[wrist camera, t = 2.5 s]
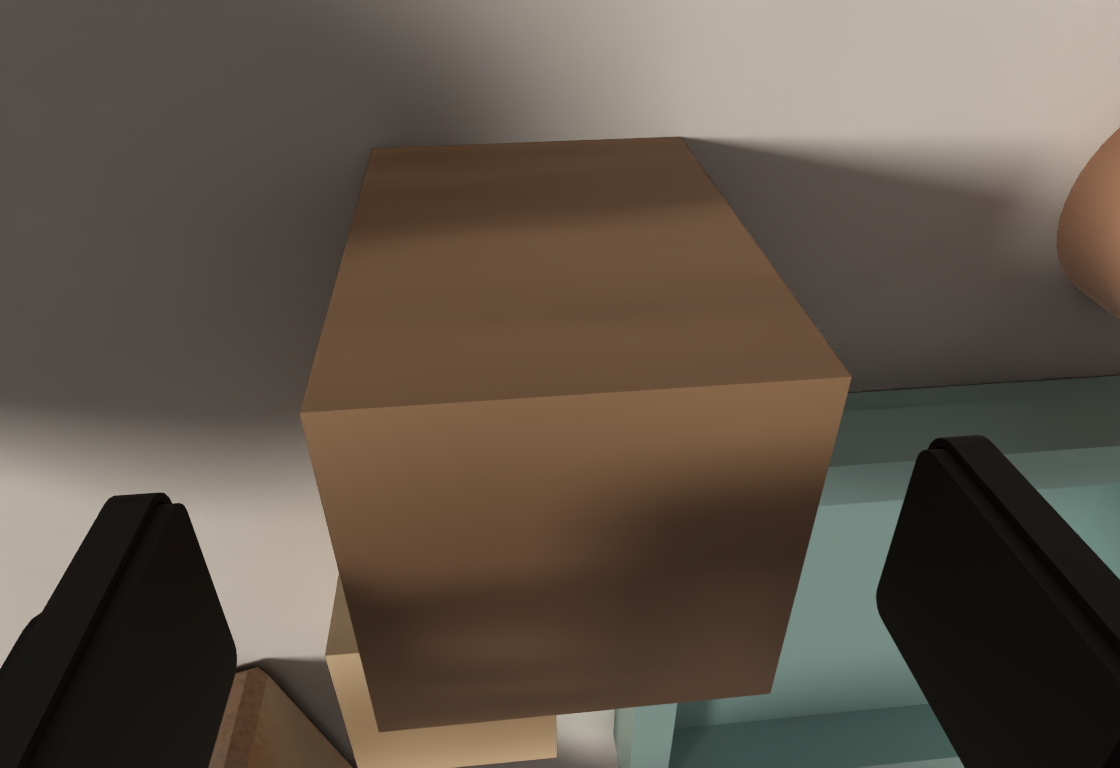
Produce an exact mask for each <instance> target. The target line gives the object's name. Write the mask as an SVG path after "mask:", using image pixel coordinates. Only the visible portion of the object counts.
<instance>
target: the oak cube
mask: <svg viewBox="0 0 1120 768" xmlns="http://www.w3.org/2000/svg"><path fill="white" fill-rule="evenodd" d="M325 657H326V661H327V664H328V668H329V671H330V675H331V678H332V681H333V685H334V688H335V692H336V695H337V699H338V702H339V705H340V709H341V712H342V716H343V719H344V723H345V726H346V729H347V733H348V736H349V740H350V743H351V746H352V750H353V753H354V757H355V760H356V764H357V767H358V768H455V767H465V766H475V765H485V764H496V763H506V762H516V761H526V760H536V759H546V758H557V739H556V715H551V716H540V717H530V718H520V719H510V720H500V721H490V722H480V723H469V724H459V725H449V726H439V727H429V728H419V729H409V730H399V731H388V732H379V731H378V727H377V723H376V719H375V715H374V711H373V707H372V703H371V699H370V695H369V691H368V687H367V683H366V679H365V675H364V671H363V667H362V663H361V659H360V654H359V650H358V646H357V642H356V638H355V634H354V630H353V626H352V622H351V618H350V614H349V610H348V606H347V602H346V598H345V594H344V590H343V586H342V582H341V578H340V574H339V576H338V582H337V588H336V594H335V600H334V606H333V612H332V618H331V624H330V629H329V635H328V641H327V647H326V653H325Z"/></svg>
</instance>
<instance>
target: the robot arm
mask: <svg viewBox="0 0 1120 768" xmlns="http://www.w3.org/2000/svg"><path fill="white" fill-rule="evenodd" d="M876 603H877V609H878V612H879V615H880V617H881V619H882V621H883V623H884V625H885V627H886V628H887V630H888V632H889V634H890V635H891V637H892V639H893V641H894V643H895V644H896V646H897V648H898V650H899V652H900V653H901V655H902V657H903V659H904V660H905V662H906V664H907V666H908V668H909V669H910V671H911V673H912V675H913V677H914V678H915V680H916V682H917V684H918V685H919V687H920V689H921V691H922V693H923V694H924V696H925V698H926V700H927V702H928V703H929V705H930V707H931V709H932V710H933V712H934V714H935V716H936V718H937V719H938V721H939V723H940V725H941V727H942V728H943V730H944V732H945V734H946V735H947V737H948V739H949V741H950V743H951V744H952V746H953V748H954V750H955V752H956V753H957V755H958V757H959V759H960V761H961V762H962V764H963V766H964V768H1120V579H1119V578H1118V577H1117V576H1116V575H1115V574H1114V573H1113V572H1112V570H1111V569H1110V568H1109V567H1108V566H1107V565H1106V564H1105V563H1104V562H1103V561H1102V560H1101V559H1100V558H1099V557H1098V555H1097V554H1096V553H1095V552H1094V551H1093V550H1092V549H1091V548H1090V547H1089V546H1088V545H1087V544H1086V543H1085V541H1084V540H1083V539H1082V538H1081V537H1080V536H1079V535H1078V534H1077V533H1076V532H1075V531H1074V530H1073V529H1072V528H1071V526H1070V525H1069V524H1068V523H1067V522H1066V521H1065V520H1064V519H1063V518H1062V517H1061V516H1060V515H1059V514H1058V512H1057V511H1056V510H1055V509H1054V508H1053V507H1052V506H1051V505H1050V504H1049V503H1048V502H1047V501H1046V500H1045V499H1044V497H1043V496H1042V495H1041V494H1040V493H1039V492H1038V491H1037V490H1036V489H1035V488H1034V487H1033V486H1032V485H1031V483H1030V482H1029V481H1028V480H1027V479H1026V478H1025V477H1024V476H1023V475H1022V474H1021V473H1020V472H1019V471H1018V470H1017V468H1016V467H1015V466H1014V465H1013V464H1012V463H1011V462H1010V461H1009V460H1008V459H1007V458H1006V457H1005V456H1004V454H1003V453H1002V452H1001V451H1000V450H999V449H998V448H997V447H996V446H995V445H994V444H993V443H992V442H991V441H990V440H989V439H988V438H986V437H985V436H981V435H970V436H956V437H942V438H937V439H934V440H933V441H932V442H931V443H930V445H929V447H928V450H923V451H921V452H920V453H919V454H918V457H917V459H916V462H915V465H914V468H913V472H912V475H911V478H910V482H909V485H908V488H907V491H906V495H905V498H904V501H903V505H902V508H901V511H900V515H899V518H898V521H897V524H896V528H895V531H894V534H893V538H892V541H891V544H890V547H889V551H888V554H887V557H886V561H885V564H884V567H883V571H882V574H881V577H880V580H879V584H878V587H877V591H876ZM236 665H237V654H236V647H235V643H234V641H233V638H232V635H231V632H230V629H229V627H228V624H227V621H226V618H225V616H224V613H223V610H222V607H221V604H220V602H219V599H218V596H217V593H216V590H215V588H214V585H213V582H212V579H211V576H210V574H209V571H208V568H207V565H206V562H205V560H204V557H203V554H202V551H201V548H200V546H199V543H198V540H197V537H196V534H195V532H194V529H193V526H192V523H191V520H190V518H189V515H188V512H187V510H186V508H185V506H184V505H183V504H180V503H175V504H172V502H171V500H170V498H169V497H168V496H167V495H166V494H165V493H147V494H133V495H119V496H113V497H111V498H109V499H108V500H107V502H106V503H105V504H104V506H103V508H102V509H101V511H100V513H99V514H98V516H97V518H96V520H95V521H94V523H93V525H92V527H91V528H90V530H89V532H88V534H87V535H86V537H85V539H84V540H83V542H82V544H81V546H80V547H79V549H78V551H77V553H76V554H75V556H74V558H73V559H72V561H71V563H70V565H69V566H68V568H67V570H66V572H65V573H64V575H63V577H62V579H61V580H60V582H59V584H58V585H57V587H56V589H55V591H54V592H53V594H52V596H51V598H50V599H49V601H48V603H47V605H46V606H45V608H44V610H43V611H42V613H40V614H39V615H37V616H36V617H34V618H33V619H32V620H31V621H30V622H29V624H28V625H27V626H26V627H25V629H24V630H23V631H22V633H21V635H20V636H19V638H18V640H17V642H16V643H15V645H14V647H13V648H12V650H11V652H10V653H9V655H8V657H7V659H6V660H5V662H4V664H3V665H2V667H1V669H0V768H208V767H209V764H210V760H211V757H212V753H213V750H214V746H215V743H216V739H217V736H218V733H219V729H220V726H221V722H222V719H223V715H224V712H225V708H226V705H227V701H228V698H229V695H230V691H231V688H232V684H233V681H234V677H235V673H236Z"/></svg>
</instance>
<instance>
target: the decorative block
mask: <svg viewBox="0 0 1120 768" xmlns="http://www.w3.org/2000/svg"><path fill="white" fill-rule="evenodd" d="M208 768H353V767H352V766H351V765H350V764H349V763H348V762H347V761H346V760H345V759H344V758H343V757H342V755H341V754H340V753H339V752H338V751H337V750H336V749H335V748H334V747H333V746H332V744H331V743H330V742H329V741H328V740H327V739H326V738H325V737H324V736H323V735H322V734H321V732H320V731H319V730H318V729H317V728H316V727H315V726H314V725H313V724H312V723H311V722H310V720H309V719H308V718H307V717H306V716H305V715H304V714H303V713H302V712H301V711H300V709H299V708H298V707H297V706H296V705H295V704H294V703H293V702H292V701H291V700H290V699H289V697H288V696H287V695H286V694H285V693H284V692H283V691H282V690H281V689H280V688H279V686H278V685H277V684H276V683H275V682H274V681H273V680H272V679H271V678H270V677H269V676H268V675H267V674H266V673H265V672H264V671H263V670H261V669H260V668H259V667H255V668H251V669H248V670H244V671H241V672H237V673H235V677H234V681H233V684H232V688H231V691H230V695H229V698H228V701H227V705H226V708H225V712H224V715H223V719H222V722H221V726H220V729H219V733H218V736H217V739H216V743H215V746H214V750H213V753H212V757H211V760H210V764H209V767H208Z"/></svg>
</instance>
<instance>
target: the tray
mask: <svg viewBox="0 0 1120 768" xmlns="http://www.w3.org/2000/svg"><path fill="white" fill-rule="evenodd" d="M970 435H981V436H985V437H986V438H988V439H989V440H990V441H991V442H992V443H993V444H994V445H995V446H996V447H997V448H998V449H999V450H1000V451H1001V452H1002V453H1003V454H1004V456H1005V457H1006V458H1007V459H1008V460H1009V461H1010V462H1011V463H1012V464H1013V465H1014V466H1015V467H1016V468H1017V470H1018V471H1019V472H1020V473H1021V474H1022V475H1023V476H1024V477H1025V478H1026V479H1027V480H1028V481H1029V482H1030V483H1031V485H1032V486H1033V487H1034V488H1035V489H1036V490H1037V491H1038V492H1039V493H1040V494H1041V495H1042V496H1043V497H1044V499H1045V500H1046V501H1047V502H1048V503H1049V504H1050V505H1051V506H1052V507H1053V508H1054V509H1055V510H1056V511H1057V512H1058V514H1059V515H1060V516H1061V517H1062V518H1063V519H1064V520H1065V521H1066V522H1067V523H1068V524H1069V525H1070V526H1071V528H1072V529H1073V530H1074V531H1075V532H1076V533H1077V534H1078V535H1079V536H1080V537H1081V538H1082V539H1083V540H1084V541H1085V543H1086V544H1087V545H1088V546H1089V547H1090V548H1091V549H1092V550H1093V551H1094V552H1095V553H1096V554H1097V555H1098V557H1099V558H1100V559H1101V560H1102V561H1103V562H1104V563H1105V564H1106V565H1107V566H1108V567H1109V568H1110V569H1111V570H1112V572H1113V573H1114V574H1115V575H1116V576H1117V577H1118V578H1119V579H1120V375H1118V376H1103V377H1088V378H1072V379H1057V380H1042V381H1026V382H1011V383H995V384H980V385H965V386H949V387H934V388H919V389H903V390H888V391H873V392H857V393H848V394H847V398H846V401H845V405H844V409H843V413H842V417H841V421H840V425H839V429H838V433H837V436H836V440H835V444H834V448H833V452H832V456H831V460H830V464H829V468H828V471H827V475H826V479H825V483H824V487H823V491H822V495H821V499H820V503H819V506H818V510H817V514H816V518H815V522H814V526H813V530H812V534H811V538H810V541H809V545H808V549H807V553H806V557H805V561H804V565H803V569H802V573H801V576H800V580H799V584H798V588H797V592H796V596H795V600H794V604H793V608H792V611H791V615H790V619H789V623H788V627H787V631H786V635H785V639H784V643H783V646H782V650H781V654H780V658H779V662H778V666H777V670H776V674H775V678H774V681H773V685H772V689H771V693H770V694H763V695H753V696H743V697H733V698H723V699H713V700H703V701H692V702H682V703H672V704H662V705H652V706H642V707H632V708H622V709H615V721H614V739H615V745H616V751H617V757H618V763H619V768H964V766H963V764H962V762H961V761H960V759H959V757H958V755H957V753H956V752H955V750H954V748H953V746H952V744H951V743H950V741H949V739H948V737H947V735H946V734H945V732H944V730H943V728H942V727H941V725H940V723H939V721H938V719H937V718H936V716H935V714H934V712H933V710H932V709H931V707H930V705H929V703H928V702H927V700H926V698H925V696H924V694H923V693H922V691H921V689H920V687H919V685H918V684H917V682H916V680H915V678H914V677H913V675H912V673H911V671H910V669H909V668H908V666H907V664H906V662H905V660H904V659H903V657H902V655H901V653H900V652H899V650H898V648H897V646H896V644H895V643H894V641H893V639H892V637H891V635H890V634H889V632H888V630H887V628H886V627H885V625H884V623H883V621H882V619H881V617H880V615H879V612H878V609H877V603H876V591H877V587H878V584H879V580H880V577H881V574H882V571H883V567H884V564H885V561H886V557H887V554H888V551H889V547H890V544H891V541H892V538H893V534H894V531H895V528H896V524H897V521H898V518H899V515H900V511H901V508H902V505H903V501H904V498H905V495H906V491H907V488H908V485H909V482H910V478H911V475H912V472H913V468H914V465H915V462H916V459H917V457H918V454H919V453H920V452H921V451H923V450H928V447H929V445H930V443H931V442H932V441H933V440H934V439H937V438H942V437H956V436H970Z"/></svg>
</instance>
